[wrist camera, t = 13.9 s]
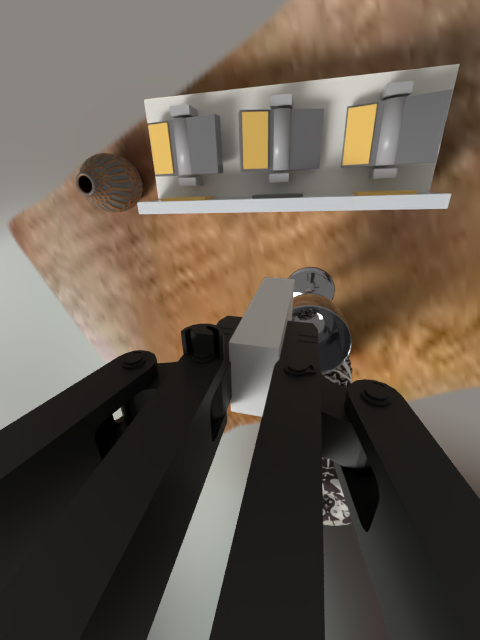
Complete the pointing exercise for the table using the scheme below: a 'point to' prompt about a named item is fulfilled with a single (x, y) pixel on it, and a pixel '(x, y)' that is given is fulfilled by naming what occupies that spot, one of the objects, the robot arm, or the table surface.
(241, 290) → the table surface
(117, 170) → the vase
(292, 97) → the switch unit
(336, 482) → the decorative candle
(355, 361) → the table surface
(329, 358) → the wine glass
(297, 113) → the switch middle
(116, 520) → the robot arm
